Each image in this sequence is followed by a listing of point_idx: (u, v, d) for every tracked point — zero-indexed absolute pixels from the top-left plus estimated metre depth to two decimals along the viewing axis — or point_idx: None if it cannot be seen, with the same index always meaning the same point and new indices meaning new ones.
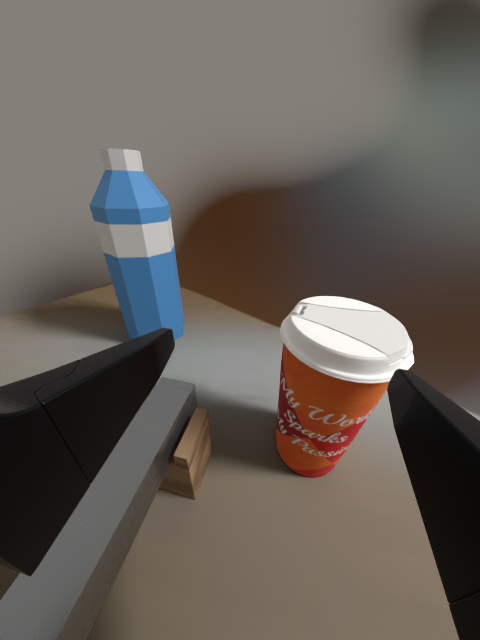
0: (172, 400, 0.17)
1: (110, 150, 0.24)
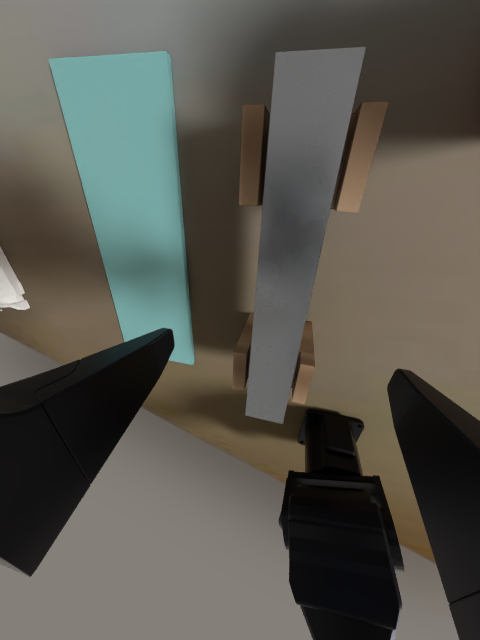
0: (322, 121, 0.09)
1: None
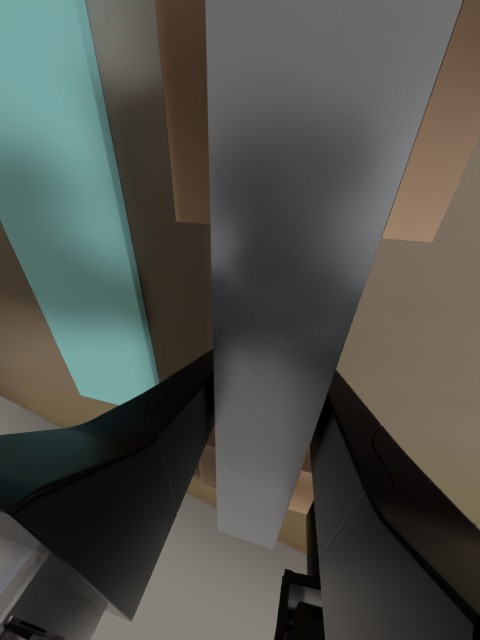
0: None
1: None
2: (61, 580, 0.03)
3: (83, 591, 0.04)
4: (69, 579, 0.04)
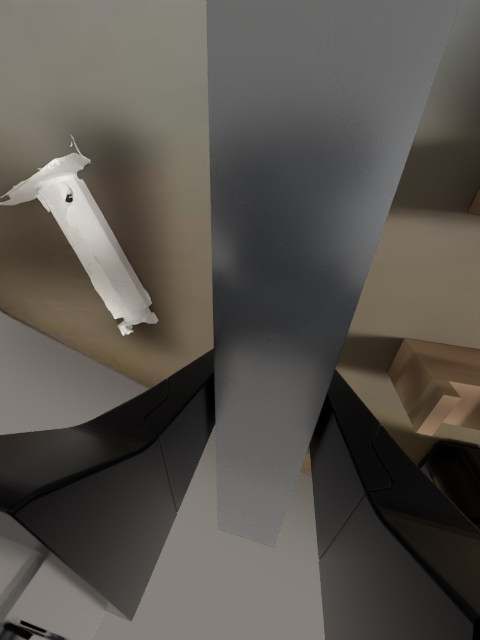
0: None
1: None
2: (61, 580, 0.03)
3: (83, 591, 0.04)
4: (69, 579, 0.04)
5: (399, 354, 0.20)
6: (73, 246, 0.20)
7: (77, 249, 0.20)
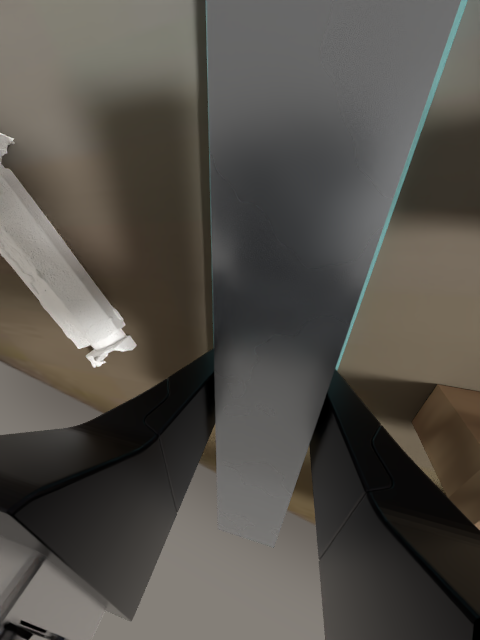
0: None
1: None
2: (61, 580, 0.03)
3: (83, 591, 0.04)
4: (69, 579, 0.04)
5: (429, 404, 0.15)
6: (7, 259, 0.15)
7: (13, 263, 0.15)
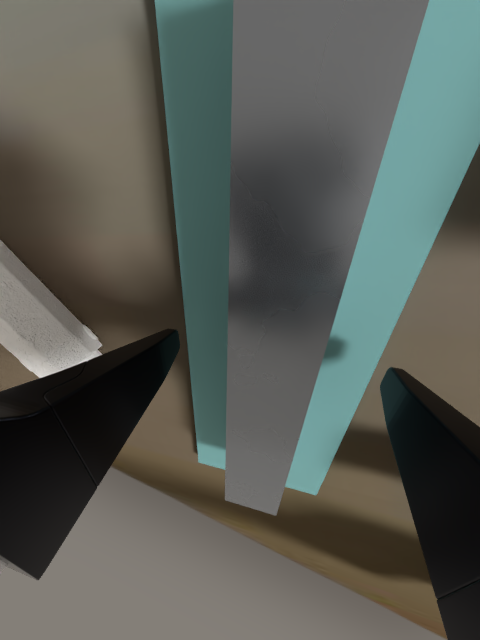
0: (356, 23, 0.04)
1: None
2: None
3: None
4: None
5: None
6: None
7: None
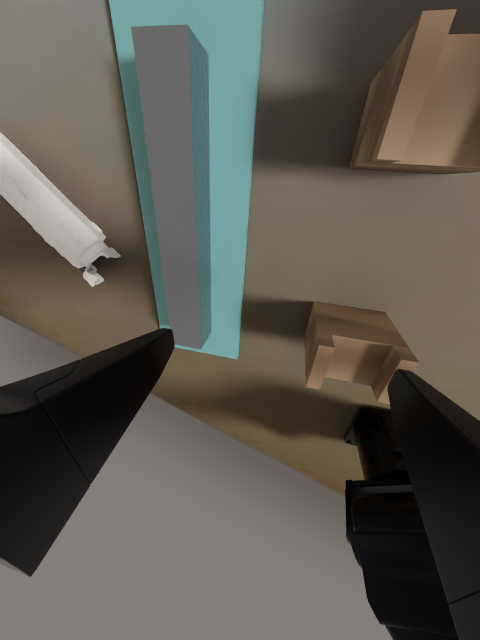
0: (172, 80, 0.12)
1: None
2: None
3: None
4: None
5: (310, 318, 0.21)
6: None
7: (3, 191, 0.19)
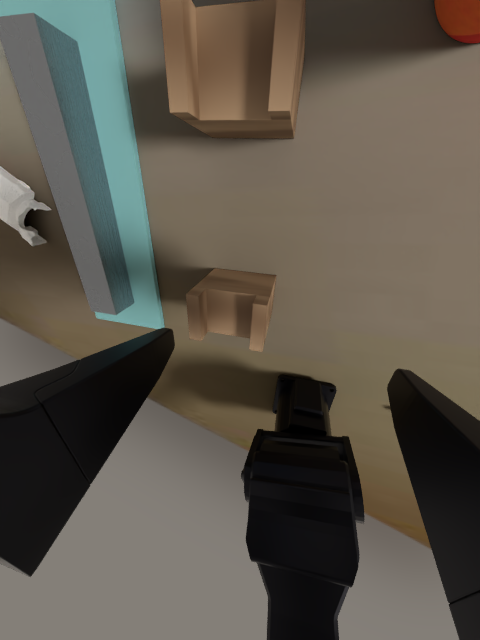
0: (33, 61, 0.14)
1: None
2: None
3: None
4: None
5: None
6: None
7: None
